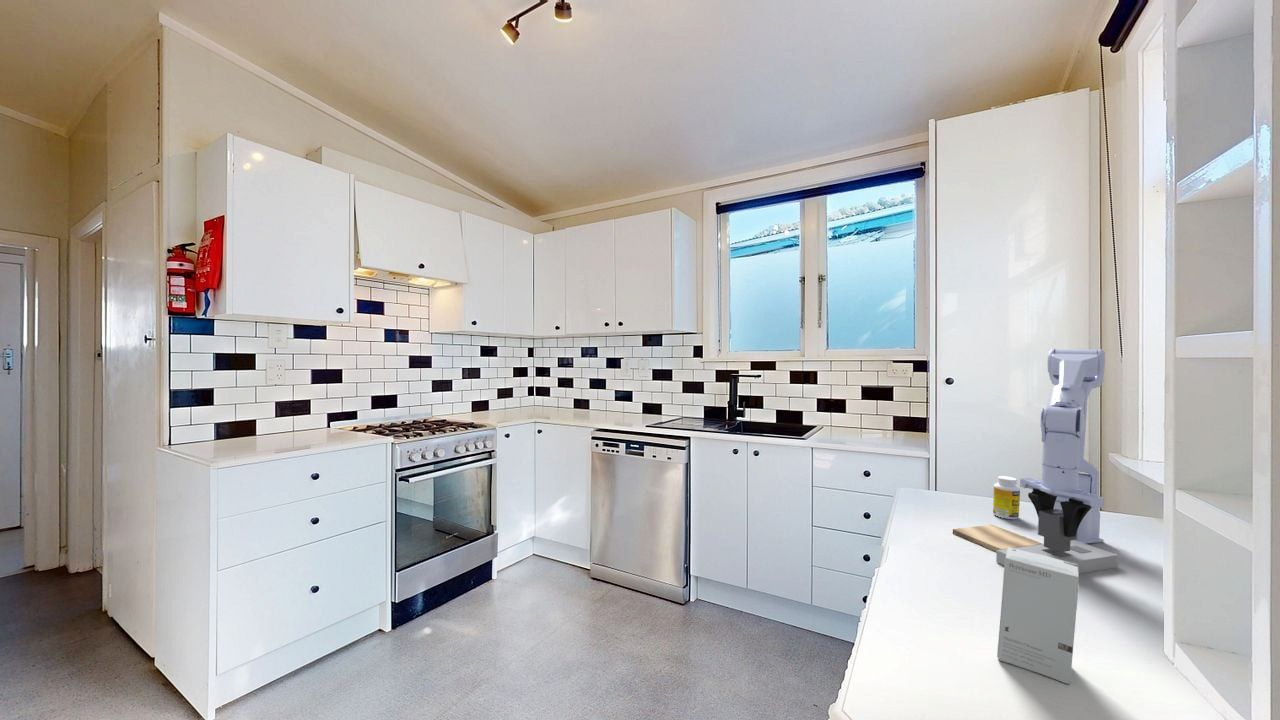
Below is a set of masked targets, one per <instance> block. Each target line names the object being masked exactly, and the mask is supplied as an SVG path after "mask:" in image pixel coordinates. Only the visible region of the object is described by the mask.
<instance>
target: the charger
mask: <svg viewBox="0 0 1280 720" xmlns="http://www.w3.org/2000/svg"><path fill="white" fill-rule="evenodd" d="M1037 523H1038V524H1037V525H1038V526H1037V535H1038V536H1041V537H1043V544H1044V547H1046V548H1049V549H1052V550H1054V551H1057V552H1065V551H1070V542H1071V540H1077V533H1076V536H1074V537H1066V536H1065V535H1064V516H1063V511H1062V510H1060V509H1049V510H1040V511H1039V518H1038V521H1037Z"/></svg>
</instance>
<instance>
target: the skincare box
mask: <svg viewBox="0 0 1280 720" xmlns="http://www.w3.org/2000/svg"><path fill="white" fill-rule="evenodd" d="M1003 567H1004V568H1003V576H1002V577H1003V579H1002V590H1001V591H1002V592H1001V594H1002V595H1001V602H1000V603H1001V604H1000V605H1001V607H1000V617H999V627H998V628H999V629H998V639H997V640H998V642H997V655H996V657H997V659H998V661H1001V662H1004V663H1006V664H1010V665H1013V666H1017V667H1019V668H1022V669H1025V670H1027V671H1030V672H1033V673H1037V674H1039V675H1043V676H1045V677H1048V678H1050V679H1054V680H1056V681H1059V682H1062V683H1064V684H1068V685H1069V684H1071V682H1072V666H1073V653H1074V644H1075V631H1076V620H1077V619H1076V618H1077V609H1078V597H1079V596H1078V595H1079V582H1080V581H1079V580H1080V577H1079V574H1080V573H1079V566H1078V565H1077V564H1074V563H1070V562H1066V561H1062V560H1059V559H1055V558H1051V557H1048V556H1045V555H1041V554H1036V553H1031V552H1026V551H1022V550H1018V549H1013V548H1007V552H1006V557H1005V566H1004V565H1003Z"/></svg>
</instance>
